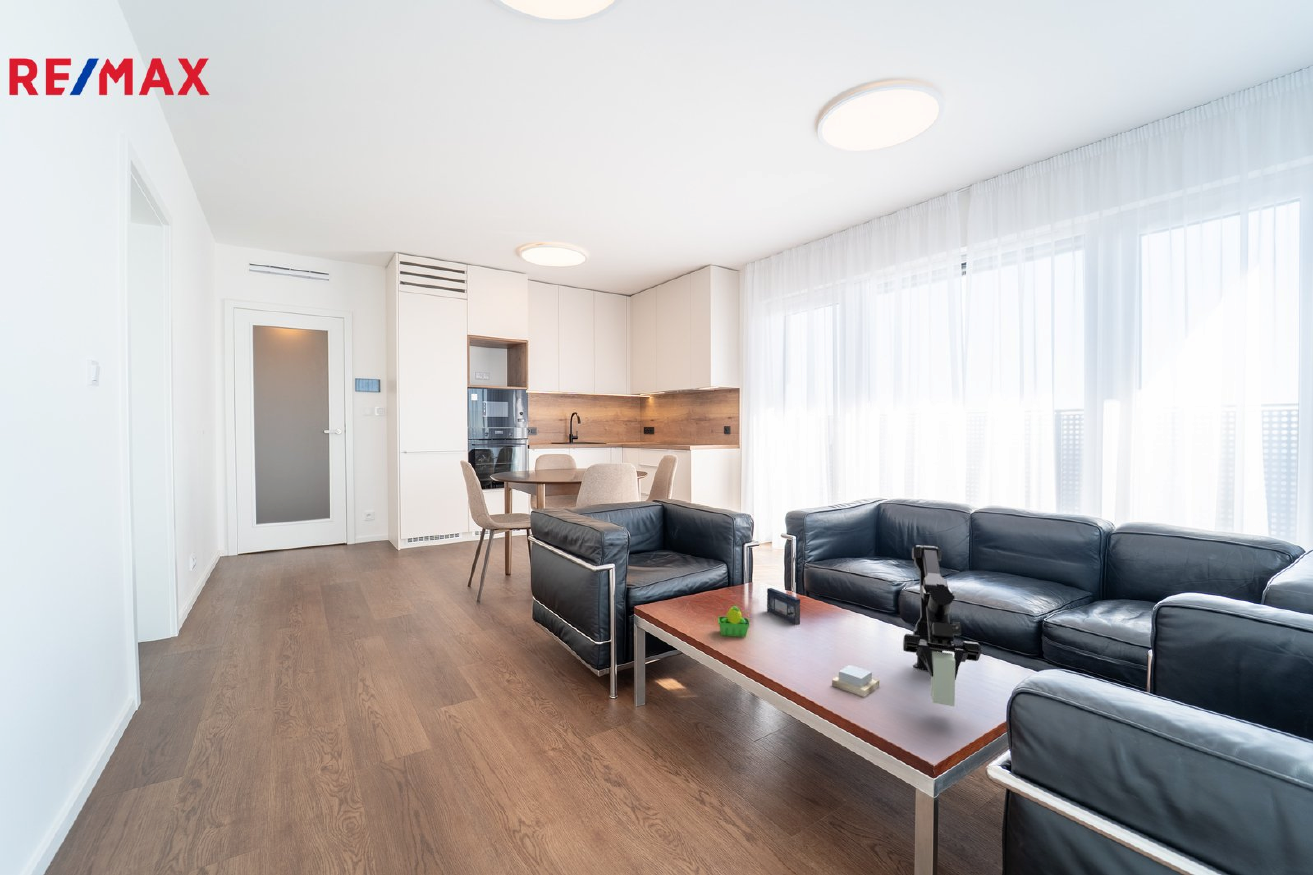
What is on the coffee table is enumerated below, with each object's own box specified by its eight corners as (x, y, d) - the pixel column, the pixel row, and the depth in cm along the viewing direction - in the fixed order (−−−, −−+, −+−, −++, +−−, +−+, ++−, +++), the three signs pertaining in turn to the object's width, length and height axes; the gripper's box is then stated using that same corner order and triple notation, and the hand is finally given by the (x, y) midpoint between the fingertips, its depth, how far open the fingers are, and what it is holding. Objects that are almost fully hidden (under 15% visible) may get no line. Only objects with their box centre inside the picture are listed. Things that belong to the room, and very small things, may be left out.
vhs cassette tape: (766, 611, 235) (766, 588, 235) (772, 610, 236) (772, 587, 236) (794, 625, 218) (794, 600, 218) (800, 624, 220) (800, 599, 220)
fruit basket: (748, 631, 211) (748, 601, 211) (749, 639, 202) (750, 608, 202) (717, 629, 212) (718, 600, 212) (718, 638, 203) (718, 607, 203)
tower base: (847, 677, 172) (847, 669, 172) (879, 688, 165) (879, 680, 165) (831, 687, 165) (832, 679, 165) (864, 699, 158) (864, 690, 158)
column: (930, 694, 152) (931, 650, 152) (951, 698, 150) (952, 653, 150) (933, 703, 147) (934, 657, 147) (954, 706, 145) (955, 660, 145)
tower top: (849, 672, 170) (849, 664, 170) (871, 680, 165) (872, 671, 165) (838, 679, 165) (838, 671, 165) (861, 687, 160) (861, 678, 160)
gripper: (904, 604, 155) (907, 659, 145) (980, 613, 149) (989, 670, 139) (901, 624, 163) (904, 677, 152) (974, 632, 156) (981, 688, 146)
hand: (943, 677), depth 147 cm, fingers closed on column, 5 cm apart
